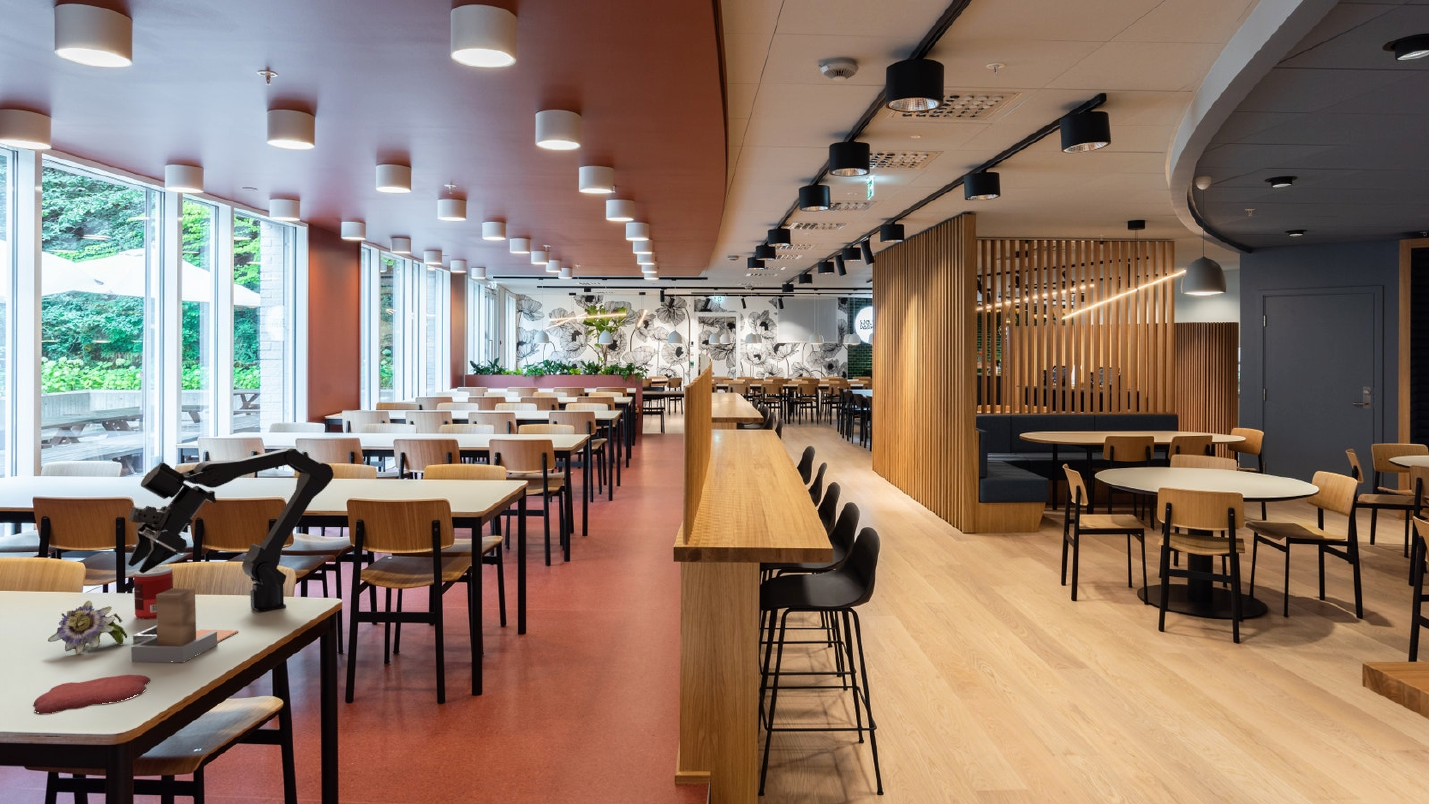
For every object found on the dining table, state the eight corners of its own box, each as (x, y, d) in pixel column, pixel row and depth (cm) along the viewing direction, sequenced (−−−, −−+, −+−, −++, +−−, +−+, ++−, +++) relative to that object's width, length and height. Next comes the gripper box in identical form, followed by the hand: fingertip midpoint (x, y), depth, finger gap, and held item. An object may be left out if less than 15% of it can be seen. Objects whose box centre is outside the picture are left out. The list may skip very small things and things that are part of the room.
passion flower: (81, 678, 184) (37, 640, 178) (90, 653, 193) (49, 617, 188) (131, 644, 186) (89, 606, 181) (138, 621, 196) (99, 584, 191)
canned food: (181, 610, 214) (179, 566, 214) (157, 620, 207) (155, 574, 206) (152, 609, 215) (150, 565, 215) (127, 619, 207) (125, 573, 207)
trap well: (158, 630, 199) (158, 624, 199) (192, 631, 198) (192, 625, 198) (133, 642, 191) (133, 635, 191) (168, 643, 190) (168, 636, 190)
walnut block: (174, 648, 187) (172, 588, 186) (196, 648, 187) (195, 588, 186) (157, 656, 182) (156, 594, 181) (180, 656, 182) (179, 595, 181)
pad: (200, 631, 198) (200, 629, 198) (238, 632, 198) (238, 630, 198) (173, 644, 190) (173, 642, 190) (212, 645, 189) (212, 643, 189)
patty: (26, 720, 151) (25, 708, 151) (41, 693, 163) (40, 682, 163) (146, 701, 159) (146, 690, 159) (152, 676, 172) (151, 666, 171)
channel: (168, 643, 190) (168, 630, 189) (217, 645, 189) (217, 631, 189) (131, 661, 179) (131, 646, 178) (183, 662, 178) (182, 648, 178)
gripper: (138, 487, 204) (90, 545, 198) (161, 495, 192) (111, 558, 185) (181, 511, 211) (137, 568, 205) (206, 521, 198) (160, 582, 192)
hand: (135, 569), depth 197 cm, fingers open, 9 cm apart
